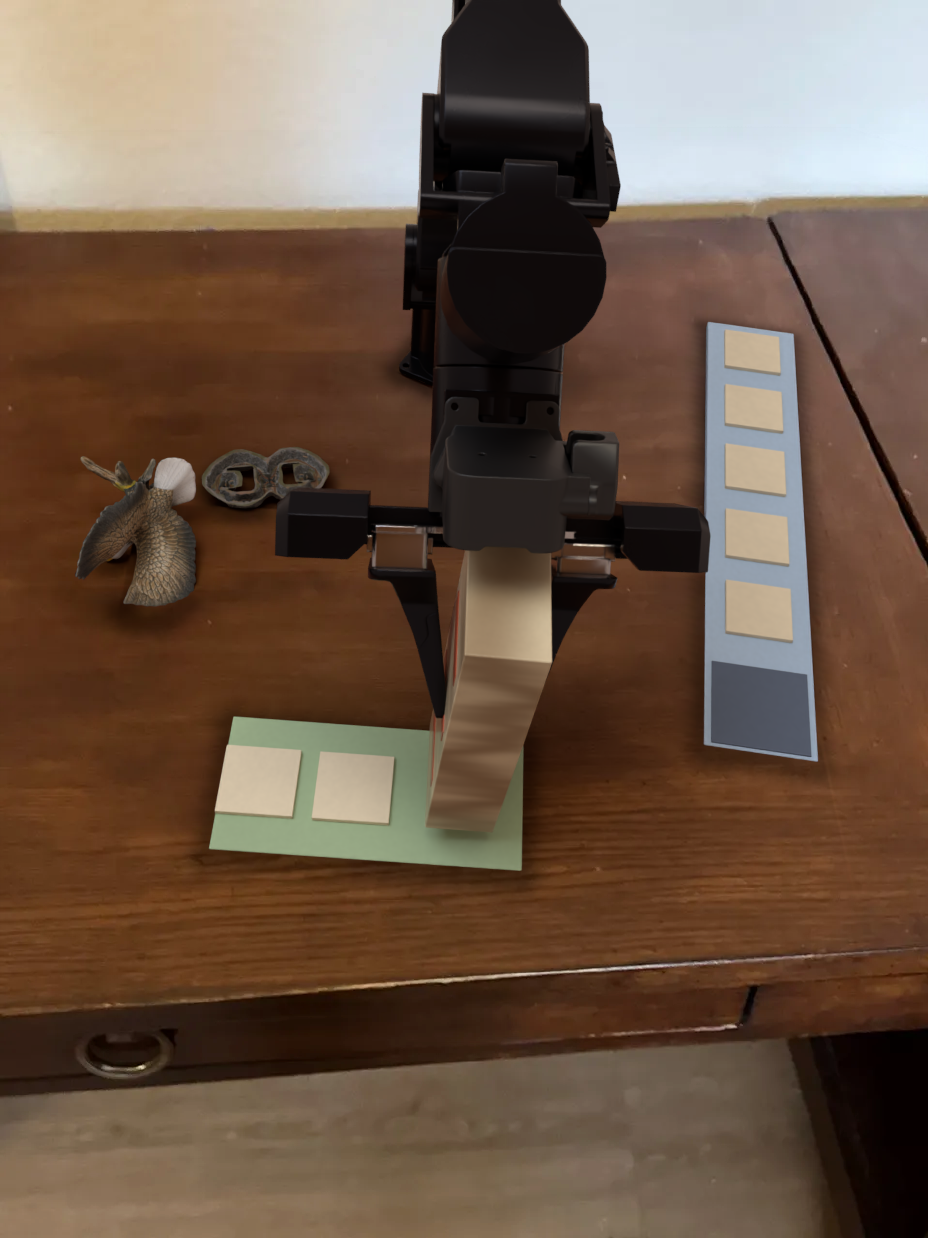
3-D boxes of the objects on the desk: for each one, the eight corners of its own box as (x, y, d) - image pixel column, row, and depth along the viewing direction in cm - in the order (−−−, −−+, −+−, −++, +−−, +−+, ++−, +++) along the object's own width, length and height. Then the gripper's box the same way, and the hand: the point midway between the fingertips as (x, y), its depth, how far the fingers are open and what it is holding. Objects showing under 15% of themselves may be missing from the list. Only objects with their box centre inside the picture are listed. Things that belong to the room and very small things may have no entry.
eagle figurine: (53, 505, 74) (48, 602, 67) (102, 415, 70) (102, 508, 64) (169, 547, 78) (175, 642, 71) (221, 464, 74) (232, 556, 68)
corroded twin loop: (333, 509, 77) (333, 498, 76) (205, 519, 75) (203, 508, 74) (325, 452, 80) (325, 441, 79) (201, 462, 78) (199, 450, 77)
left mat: (209, 854, 62) (208, 846, 61) (234, 721, 67) (232, 713, 66) (520, 875, 63) (522, 868, 62) (522, 742, 67) (524, 734, 67)
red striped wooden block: (423, 828, 61) (462, 655, 47) (428, 723, 65) (467, 532, 51) (494, 833, 62) (553, 663, 48) (495, 728, 65) (552, 540, 51)
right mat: (815, 766, 68) (820, 758, 67) (701, 750, 68) (705, 741, 67) (791, 339, 90) (794, 330, 90) (706, 327, 90) (708, 317, 90)
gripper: (265, 346, 45) (256, 757, 47) (761, 370, 46) (730, 770, 48) (290, 365, 56) (282, 698, 58) (690, 385, 57) (667, 710, 59)
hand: (481, 718), depth 56 cm, fingers closed on red striped wooden block, 3 cm apart
